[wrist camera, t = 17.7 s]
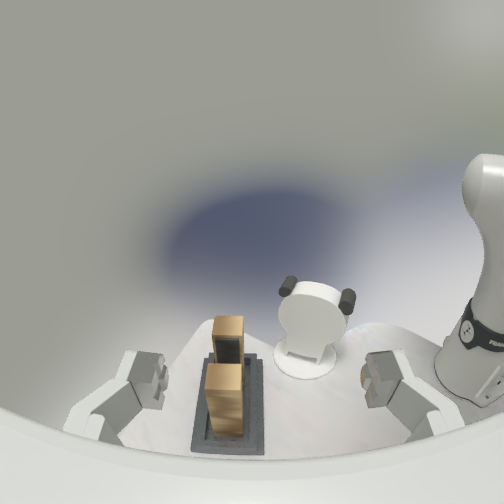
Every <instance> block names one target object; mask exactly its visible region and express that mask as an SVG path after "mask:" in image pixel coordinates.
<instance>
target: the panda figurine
mask: <svg viewBox="0 0 504 504" xmlns="http://www.w3.org/2000/svg"><path fill="white" fill-rule="evenodd" d="M279 295H280V296H282V297H285V298H284V299H283V301H282V303H281V305H280V307H279V310H278V319H279V322H280V324H281V326H282V327H283V329H284V330H285V331H286V332H287V336H286V337H285V338H283V339H282V340H281V341H279V343H278V344H277V345H276V347H275V349H274V361H275V363H276V365H277V367H278V368H279V369H280V370H281V371H282V372H283V373H285V374H286V375H288V376H290V377H293V378H296V379H301V380H313V379H318V378H321V377H323V376H325V375H327V374H328V373H329V372H330V371H331V370H332V369H333V367H334V365H335V363H336V352H335V350H334V348H333V346H332V345H331V343H333V342H336V341H337V340H339V339H340V338H341V337H342V336H343V335H344V333H345V330H346V326H347V323H348V319H349V315H350V314H352V312H353V309H354V305H355V300H356V294H355V292H354V291H353V290H352V289H345V290H343V292H342V294H341V293H340V292H339V291H337V290H336V289H334V288H332V287H330V286H327V285H325V284H321V283H316V282H307V281H304V282H299V283H297V278H296V277H294V276H288V277H287V278H286V280H285V281H284V283H283V284H282V286H281V288H280V289H279Z"/></svg>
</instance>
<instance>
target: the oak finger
mask: <svg viewBox="0 0 504 504" xmlns="http://www.w3.org/2000/svg"><path fill="white" fill-rule="evenodd" d="M204 390H205V395H206V400H207V405H208V410H209V415H210V419H211V424H212V429H213V433H214V436H216V437H243V393H242V366H241V364H219V363H208V366H207V374H206V381H205V388H204Z"/></svg>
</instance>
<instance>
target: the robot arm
mask: <svg viewBox="0 0 504 504" xmlns="http://www.w3.org/2000/svg"><path fill="white" fill-rule="evenodd" d="M462 195H463V200H464V204H465V207H466V209H467V211H468V213H469V215H470V216H471V218H472V219H473V220H474V222H475V224H476V225H477V227H478V229H479V231H480V234H481V237H482V240H483V246H484V264H483V268H482V272H481V276H480V279H479V282H478V285H477V288H476V291H475V294H474V296H473V297H472V298H471V299H470V300H469V303H468V305H466V308H465V311H464V313H463V315H462V316H461V318H460V320H459V321H458V323H457V325H456V326H455V328H454V330H453V331H452V333H451V335H450V336H447V337H446V339H445V340H444V343H443V348H442V349H441V350H440V351H439V353H438V354H437V356H436V359H435V370H436V373H437V376H438V378H439V380H440V381H441V382H442V384H443V385H444V386H445V387H446V388H447V389H448V390H449V391H451V392H452V393H454V394H456V395H458V396H460V397H463V398H466V399H469V400H471V401H472V402H474V403H475V404H477V405H478V406H480V407H485V406H487V405H488V404H490V403H491V402H493V401H494V400H496V399H497V398H498V397H500V396H501V395H503V394H504V156H503V155H495V154H479V155H478V156H476V157H475V158H474V159H473V160H472V162H471V163H470V164H469V165H468V167H467V169H466V171H465V174H464V177H463V182H462ZM365 360H366V364H365V365H364V366H363V367H362V370H361V377H360V379H361V385H362V388H363V389H365V390H366V391H367V392H366V394H365V399H366V402H367V406H368V408H376V407H384V406H387V408H388V409H389V410H390V411H391V412H392V413H393V414H394V415H395V416H396V417H397V418H398V419H399V420H400V421H401V422H402V423H403V424H404V425H405V426H406V427H407V428H408V429H409V430H410V431H411V432H412V434H411V435H410V436H409V438H408V439H407V440H406V442H405V443H404V444H400V445H395V446H390V447H385V448H380V449H375V450H369V451H363V452H357V453H350V454H343V455H334V456H325V457H314V458H301V459H281V460H233V459H213V458H200V457H189V456H180V455H172V454H164V453H158V452H151V451H145V450H139V449H134V448H129V447H124V445H123V443H122V442H121V441H120V439H119V438H118V437H117V434H118V433H119V432H120V431H121V430H122V429H123V428H124V427H125V426H126V425H127V424H128V423H129V422H130V421H131V420H132V419H133V418H134V417H135V416H136V415H137V414H138V413H139V412H140V411H141V410H142V408H146V409H155V410H162V407H163V403H164V399H165V396H164V393H163V392H164V391H165V390H166V389H167V386H168V379H169V375H168V369H167V367H166V366H165V365H164V362H165V359H164V356H163V354H158V353H150V352H141V351H131V350H127V351H126V352H125V354H124V356H123V359H122V361H121V364H120V366H119V369H118V371H117V374H116V376H115V379H110V380H109V381H108V382H106V383H105V384H103V385H102V386H101V387H99V388H98V389H97V390H95V391H94V392H92V393H91V394H90V395H88V396H87V397H86V398H84V399H83V400H81V401H80V402H79V403H77V404H76V405H74V406H73V407H72V409H71V411H70V413H69V416H68V418H67V420H66V423H65V425H64V428H63V430H59V429H56V428H53V427H50V426H47V425H44V424H41V423H39V422H36V421H33V420H31V419H28V418H26V417H23V416H21V415H18V414H16V413H13V412H11V411H9V410H7V409H4V408H1V407H0V504H504V411H502V412H500V413H498V414H495V415H493V416H490V417H488V418H485V419H483V420H480V421H477V422H475V423H472V424H469V425H465V423H464V421H463V418H462V416H461V414H460V412H459V409H458V407H457V405H456V404H455V403H454V402H453V401H451V400H450V399H448V398H447V397H446V396H444V395H443V394H441V393H440V392H439V391H437V390H436V389H434V388H433V387H432V386H430V385H429V384H428V383H426V382H425V381H423V380H422V379H421V378H419V377H415V375H414V373H413V371H412V369H411V366H410V364H409V362H408V360H407V358H406V356H405V353H404V351H403V350H402V349H399V350H391V351H381V352H372V353H368V354H367V356H366V358H365ZM486 398H487V399H486Z"/></svg>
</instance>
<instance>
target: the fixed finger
mask: <svg viewBox="0 0 504 504" xmlns="http://www.w3.org/2000/svg"><path fill="white" fill-rule="evenodd" d="M212 341H213V349H214V357H215V363H219V364H241V366H242V389H244V331H243V316H215V318H214V324H213V331H212Z"/></svg>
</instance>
